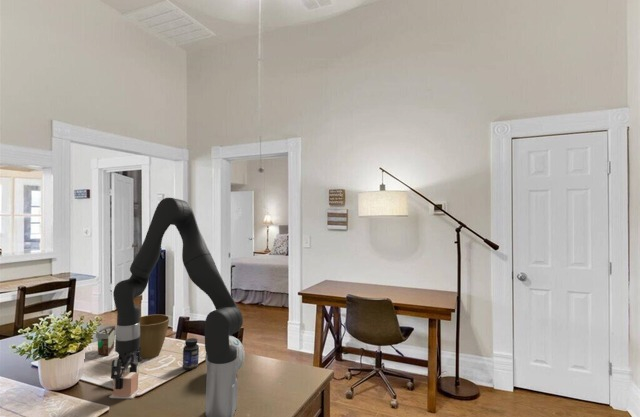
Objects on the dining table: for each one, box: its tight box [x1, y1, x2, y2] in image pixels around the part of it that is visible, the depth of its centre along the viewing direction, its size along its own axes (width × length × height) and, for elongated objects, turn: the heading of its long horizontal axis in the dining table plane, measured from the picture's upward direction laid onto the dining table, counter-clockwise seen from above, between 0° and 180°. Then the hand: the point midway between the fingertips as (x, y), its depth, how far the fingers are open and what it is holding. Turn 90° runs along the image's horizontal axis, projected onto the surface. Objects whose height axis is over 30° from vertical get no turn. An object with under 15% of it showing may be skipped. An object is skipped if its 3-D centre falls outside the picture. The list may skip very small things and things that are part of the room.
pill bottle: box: [182, 337, 200, 371], centre depth 143 cm, size 6×6×11 cm
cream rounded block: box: [112, 362, 140, 384], centre depth 130 cm, size 7×5×6 cm
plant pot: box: [140, 314, 170, 360], centre depth 153 cm, size 15×15×16 cm
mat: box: [108, 388, 142, 400], centre depth 120 cm, size 8×6×1 cm
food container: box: [95, 325, 116, 357], centre depth 155 cm, size 12×6×10 cm, turn 17°
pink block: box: [112, 372, 139, 396], centre depth 120 cm, size 6×4×6 cm
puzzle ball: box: [205, 335, 246, 373], centre depth 137 cm, size 15×15×15 cm
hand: (126, 382), depth 120 cm, fingers open, 8 cm apart
